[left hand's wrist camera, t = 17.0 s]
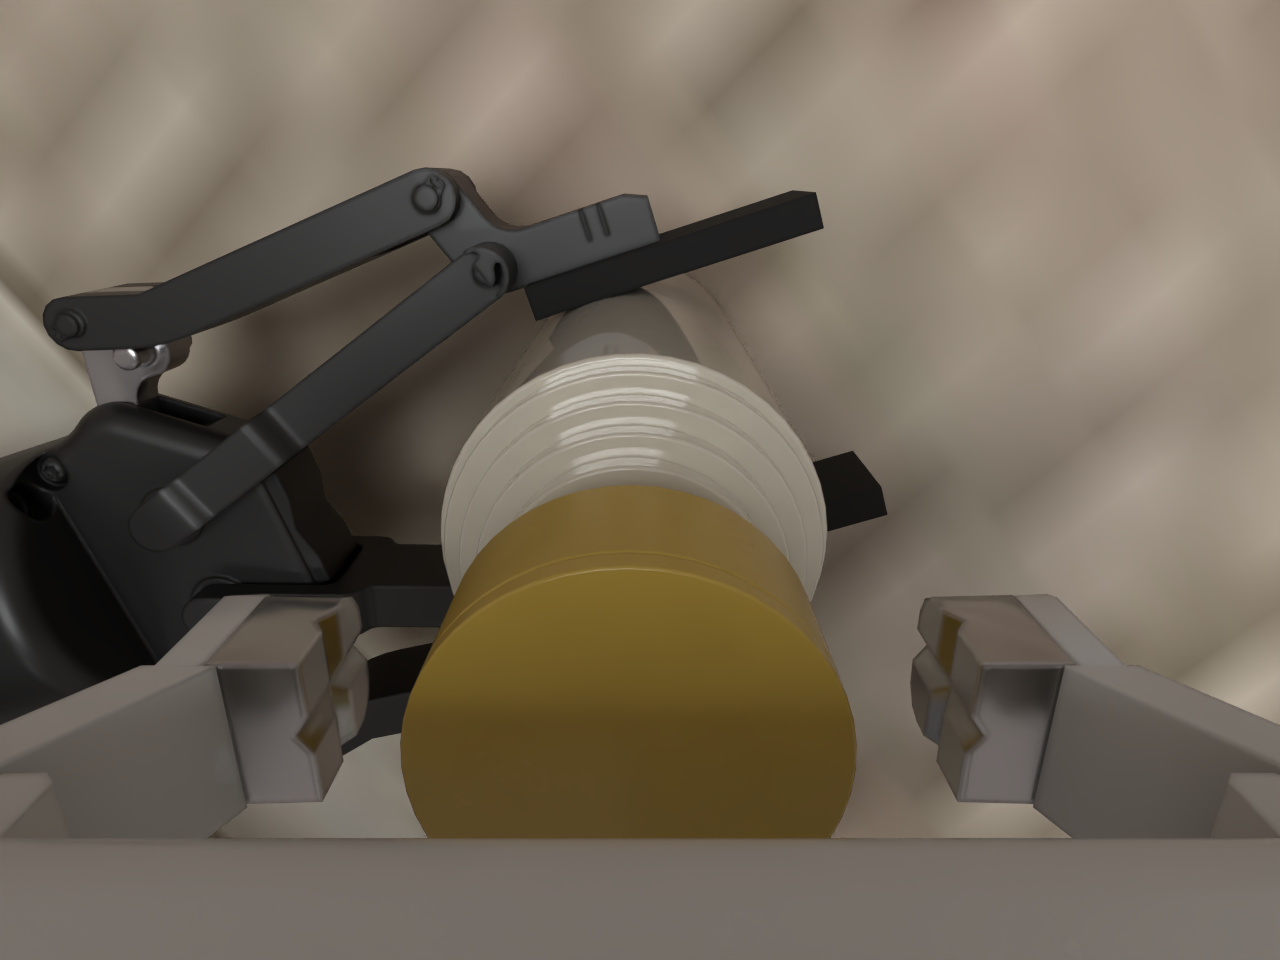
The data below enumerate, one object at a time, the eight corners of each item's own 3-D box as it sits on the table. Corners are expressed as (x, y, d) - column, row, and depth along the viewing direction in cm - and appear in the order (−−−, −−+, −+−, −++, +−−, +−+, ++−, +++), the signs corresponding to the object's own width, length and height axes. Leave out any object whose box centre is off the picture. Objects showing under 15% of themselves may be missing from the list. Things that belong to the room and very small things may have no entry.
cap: (456, 459, 9) (405, 537, 7) (852, 509, 9) (908, 598, 7) (439, 779, 11) (394, 914, 9) (776, 816, 11) (805, 956, 9)
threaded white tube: (730, 253, 24) (942, 435, 7) (738, 445, 26) (914, 936, 9) (529, 270, 24) (265, 488, 7) (553, 460, 27) (394, 966, 10)
